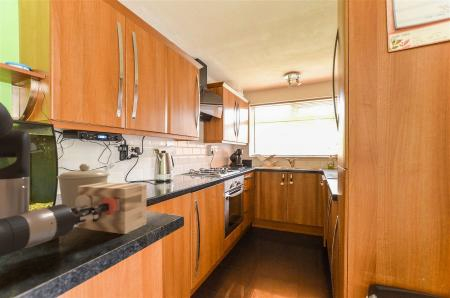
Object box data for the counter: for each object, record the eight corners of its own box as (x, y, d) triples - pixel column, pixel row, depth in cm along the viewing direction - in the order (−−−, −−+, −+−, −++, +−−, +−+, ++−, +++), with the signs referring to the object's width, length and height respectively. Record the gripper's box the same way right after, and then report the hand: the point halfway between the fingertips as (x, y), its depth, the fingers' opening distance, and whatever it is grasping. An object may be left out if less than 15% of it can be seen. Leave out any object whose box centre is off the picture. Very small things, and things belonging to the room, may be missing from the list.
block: (77, 227, 73) (77, 186, 73) (102, 219, 82) (102, 182, 82) (125, 234, 67) (125, 188, 67) (146, 223, 76) (146, 184, 76)
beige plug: (75, 210, 70) (75, 194, 71) (97, 204, 79) (98, 190, 79) (86, 211, 69) (87, 195, 69) (109, 205, 77) (109, 191, 77)
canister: (84, 223, 77) (84, 165, 78) (43, 220, 81) (44, 164, 81) (118, 210, 95) (118, 162, 95) (84, 208, 99) (84, 162, 99)
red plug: (100, 214, 66) (100, 197, 66) (121, 207, 74) (121, 192, 74) (113, 215, 64) (113, 198, 64) (134, 208, 72) (134, 193, 72)
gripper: (64, 210, 47) (124, 195, 63) (24, 206, 51) (90, 193, 67) (64, 245, 46) (124, 221, 63) (23, 238, 51) (90, 217, 67)
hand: (106, 206), depth 65 cm, fingers closed
